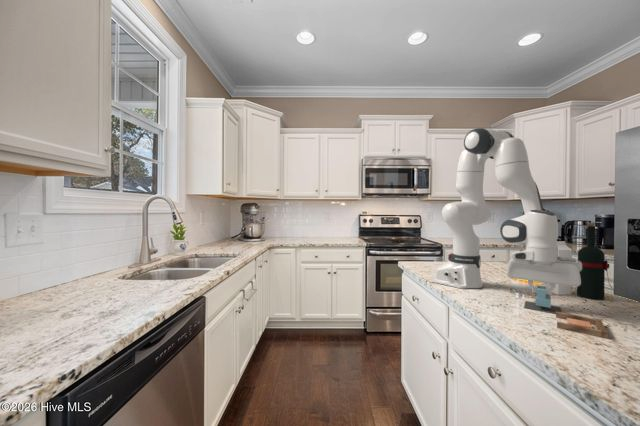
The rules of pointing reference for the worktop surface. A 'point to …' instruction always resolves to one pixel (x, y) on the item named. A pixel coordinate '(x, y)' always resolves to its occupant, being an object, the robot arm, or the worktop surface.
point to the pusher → (542, 297)
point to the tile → (578, 322)
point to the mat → (541, 308)
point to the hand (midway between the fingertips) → (541, 294)
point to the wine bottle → (592, 268)
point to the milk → (567, 253)
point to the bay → (580, 329)
